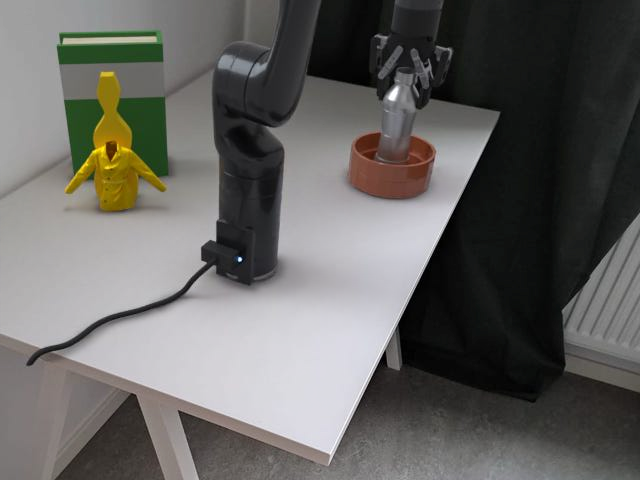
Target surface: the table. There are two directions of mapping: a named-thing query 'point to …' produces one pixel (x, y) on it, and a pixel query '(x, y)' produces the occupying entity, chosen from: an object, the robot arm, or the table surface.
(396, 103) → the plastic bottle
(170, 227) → the table surface
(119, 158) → the yellow jacket
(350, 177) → the bowl
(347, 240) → the table surface
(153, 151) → the hardback book
